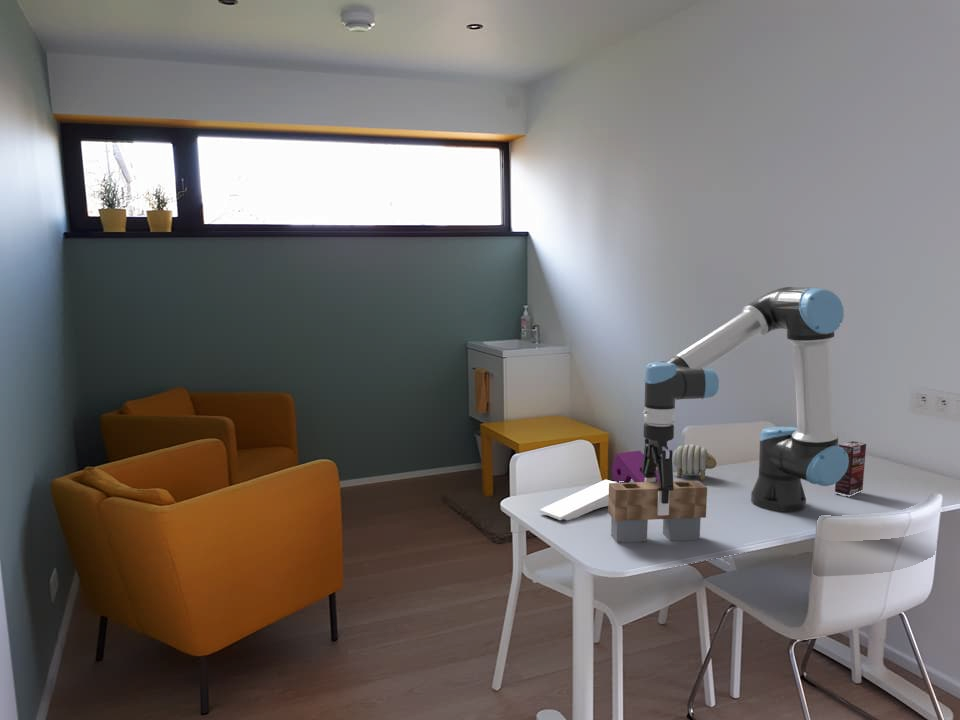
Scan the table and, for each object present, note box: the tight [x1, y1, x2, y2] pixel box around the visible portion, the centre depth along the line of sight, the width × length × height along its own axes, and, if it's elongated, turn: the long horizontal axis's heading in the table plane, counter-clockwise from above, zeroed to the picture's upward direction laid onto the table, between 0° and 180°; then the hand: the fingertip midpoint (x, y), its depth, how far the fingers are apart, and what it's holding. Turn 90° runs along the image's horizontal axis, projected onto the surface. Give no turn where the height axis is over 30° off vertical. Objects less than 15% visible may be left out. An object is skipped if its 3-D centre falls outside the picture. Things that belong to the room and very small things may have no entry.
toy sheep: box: [672, 443, 717, 481], centre depth 242 cm, size 11×17×11 cm, turn 70°
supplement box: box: [834, 440, 867, 495], centre depth 223 cm, size 9×5×16 cm, turn 126°
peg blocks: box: [610, 517, 701, 543], centre depth 187 cm, size 22×5×10 cm, turn 96°
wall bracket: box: [539, 478, 617, 521], centre depth 210 cm, size 10×7×28 cm
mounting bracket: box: [611, 450, 659, 483], centre depth 233 cm, size 9×8×18 cm
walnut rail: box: [607, 480, 708, 521], centre depth 186 cm, size 24×6×8 cm, turn 96°
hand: (656, 508), depth 186 cm, fingers open, 9 cm apart
